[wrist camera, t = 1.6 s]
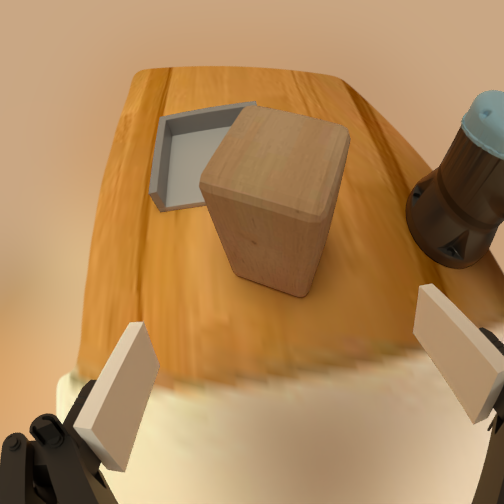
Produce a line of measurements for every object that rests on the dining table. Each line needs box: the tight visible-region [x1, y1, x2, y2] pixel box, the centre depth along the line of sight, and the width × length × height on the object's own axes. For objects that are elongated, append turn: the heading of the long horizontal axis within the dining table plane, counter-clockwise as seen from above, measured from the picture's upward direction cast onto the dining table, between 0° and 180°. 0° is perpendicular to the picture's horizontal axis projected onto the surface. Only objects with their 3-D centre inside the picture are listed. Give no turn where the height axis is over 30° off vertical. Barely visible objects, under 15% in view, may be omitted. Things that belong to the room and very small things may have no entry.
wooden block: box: [199, 105, 351, 297], centre depth 32 cm, size 10×10×20 cm
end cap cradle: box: [149, 101, 257, 212], centre depth 46 cm, size 16×16×5 cm
